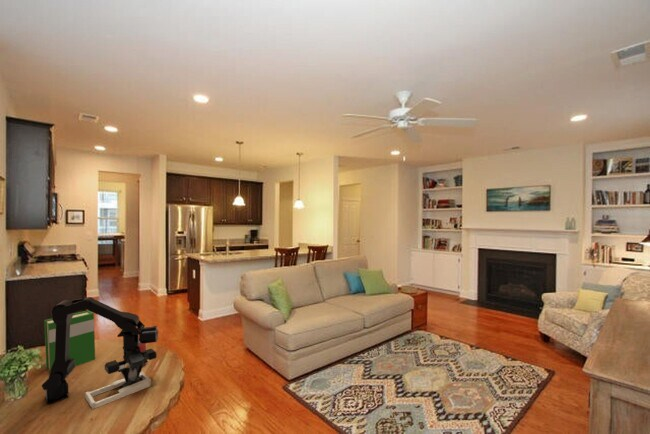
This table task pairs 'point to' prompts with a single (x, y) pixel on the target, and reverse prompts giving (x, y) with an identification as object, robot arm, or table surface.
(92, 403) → the keyhole dock
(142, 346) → the beer can
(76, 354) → the hardback book
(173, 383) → the table surface
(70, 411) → the table surface
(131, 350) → the robot arm
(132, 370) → the dark grey rounded piece
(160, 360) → the table surface
